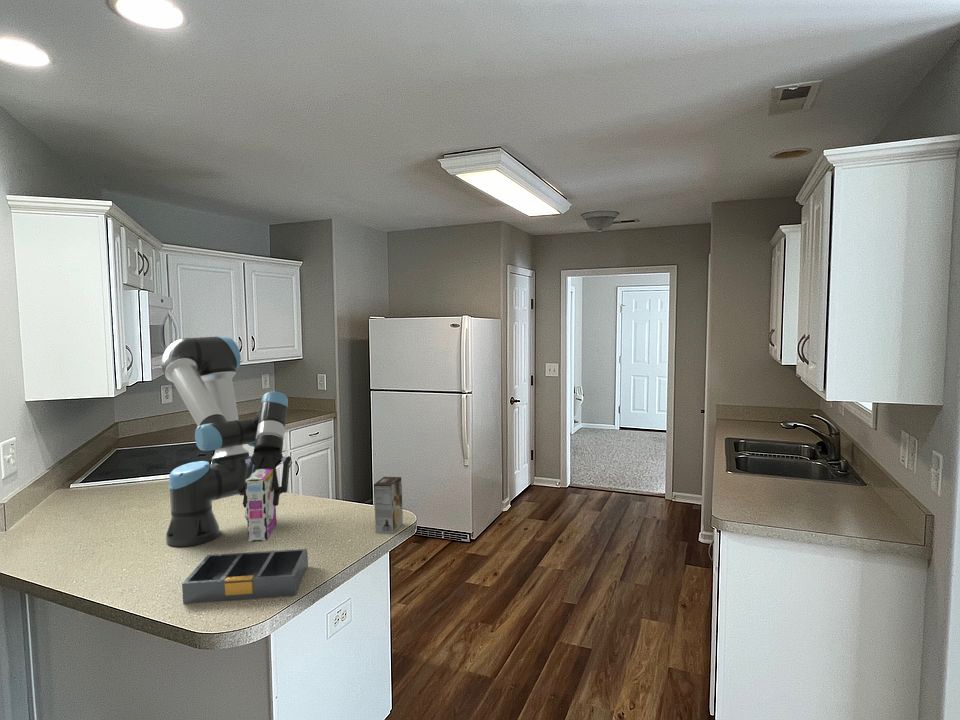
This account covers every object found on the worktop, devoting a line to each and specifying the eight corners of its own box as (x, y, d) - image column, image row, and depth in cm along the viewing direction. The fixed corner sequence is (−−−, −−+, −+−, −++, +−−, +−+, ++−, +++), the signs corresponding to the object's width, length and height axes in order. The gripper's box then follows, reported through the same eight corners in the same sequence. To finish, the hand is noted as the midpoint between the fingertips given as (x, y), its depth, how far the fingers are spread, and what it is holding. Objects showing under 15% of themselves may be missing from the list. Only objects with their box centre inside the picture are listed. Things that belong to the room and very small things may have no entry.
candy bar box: (268, 541, 145) (264, 479, 143) (248, 543, 144) (243, 480, 143) (278, 524, 156) (274, 466, 154) (259, 526, 155) (255, 468, 154)
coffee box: (385, 522, 190) (383, 475, 189) (403, 523, 189) (402, 476, 188) (374, 532, 181) (373, 483, 180) (393, 534, 180) (392, 484, 179)
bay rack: (182, 604, 137) (181, 583, 137) (208, 572, 154) (207, 553, 154) (294, 596, 140) (293, 575, 140) (308, 566, 157) (307, 547, 157)
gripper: (304, 445, 165) (297, 521, 150) (239, 448, 162) (225, 526, 147) (300, 431, 159) (292, 508, 144) (233, 434, 156) (218, 513, 142)
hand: (258, 517), depth 146 cm, fingers closed on candy bar box, 5 cm apart
